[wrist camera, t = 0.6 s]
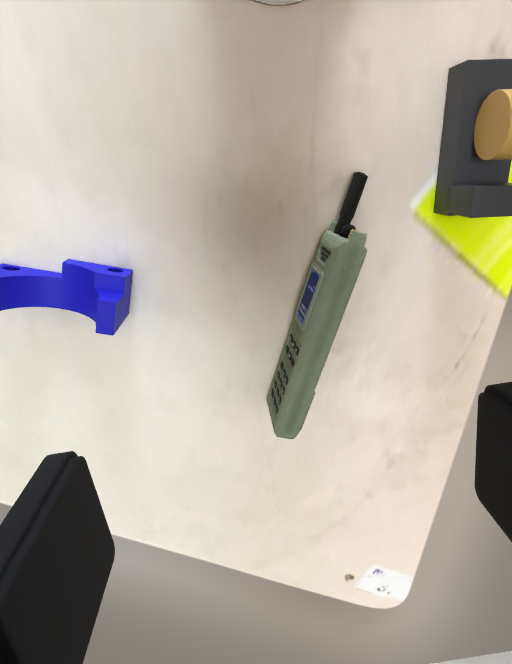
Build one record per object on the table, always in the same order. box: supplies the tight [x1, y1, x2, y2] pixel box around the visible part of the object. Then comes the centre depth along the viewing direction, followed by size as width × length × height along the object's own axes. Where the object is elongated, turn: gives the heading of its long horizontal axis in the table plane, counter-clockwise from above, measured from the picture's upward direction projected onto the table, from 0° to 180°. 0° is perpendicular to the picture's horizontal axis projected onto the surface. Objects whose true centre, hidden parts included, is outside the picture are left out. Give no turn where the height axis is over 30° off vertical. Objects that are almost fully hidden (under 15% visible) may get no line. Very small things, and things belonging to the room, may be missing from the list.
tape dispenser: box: [434, 59, 512, 218], centre depth 35 cm, size 12×5×8 cm, turn 2°
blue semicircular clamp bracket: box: [0, 259, 133, 335], centre depth 39 cm, size 12×4×6 cm, turn 79°
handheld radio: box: [267, 172, 368, 439], centre depth 40 cm, size 7×3×25 cm
